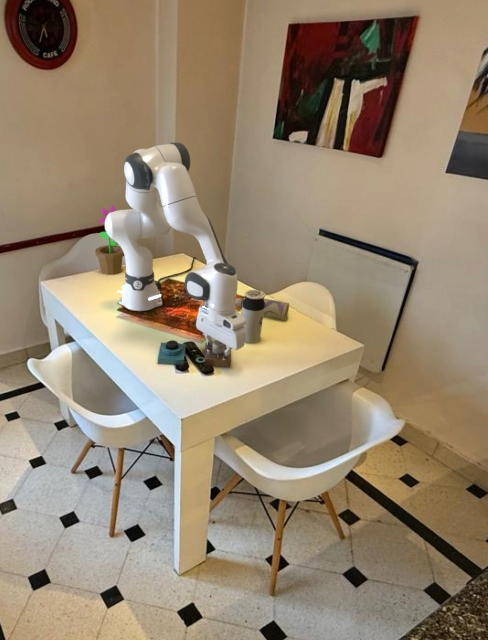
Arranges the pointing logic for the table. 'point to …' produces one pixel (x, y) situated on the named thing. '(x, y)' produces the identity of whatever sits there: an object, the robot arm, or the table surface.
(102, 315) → the table surface
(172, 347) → the button
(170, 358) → the button box
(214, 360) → the dial panel
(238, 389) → the table surface
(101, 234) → the flowerpot
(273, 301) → the decorative bottle
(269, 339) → the table surface
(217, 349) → the dial knob
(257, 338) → the travel mug
